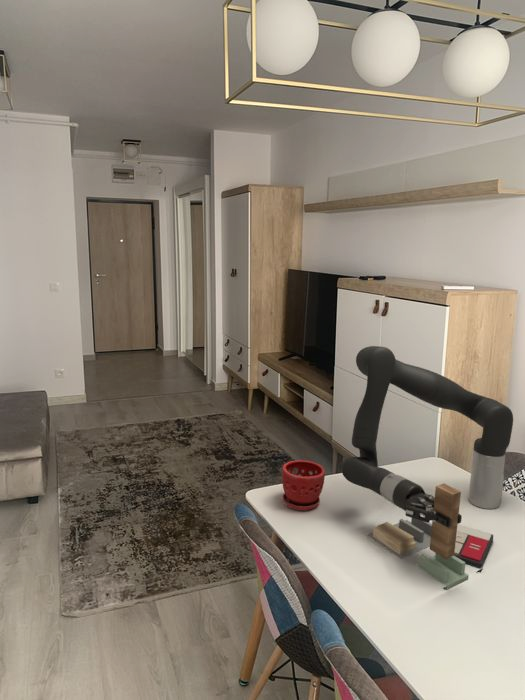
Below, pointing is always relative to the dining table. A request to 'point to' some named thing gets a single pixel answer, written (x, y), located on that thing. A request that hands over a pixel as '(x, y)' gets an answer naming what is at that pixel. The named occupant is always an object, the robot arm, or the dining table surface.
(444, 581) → the board holder
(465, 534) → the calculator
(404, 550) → the offcut stack
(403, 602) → the dining table surface
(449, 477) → the dining table surface
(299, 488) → the plant pot
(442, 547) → the tall board
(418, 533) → the rack
